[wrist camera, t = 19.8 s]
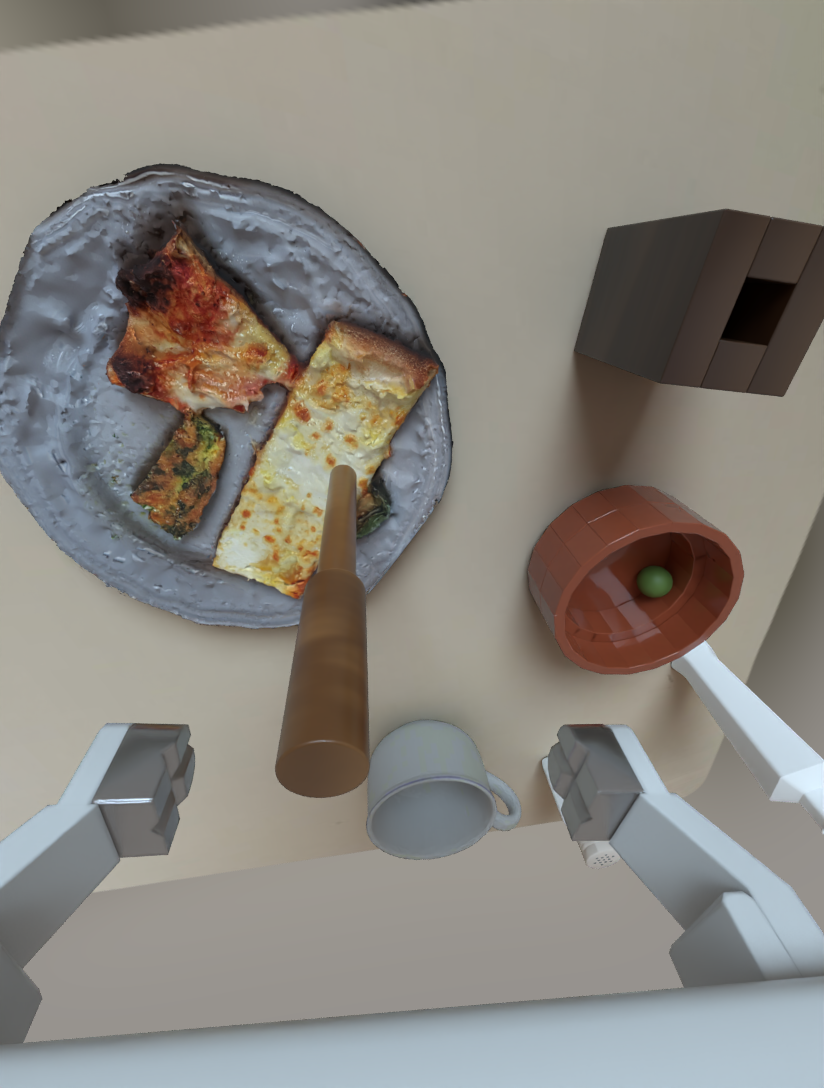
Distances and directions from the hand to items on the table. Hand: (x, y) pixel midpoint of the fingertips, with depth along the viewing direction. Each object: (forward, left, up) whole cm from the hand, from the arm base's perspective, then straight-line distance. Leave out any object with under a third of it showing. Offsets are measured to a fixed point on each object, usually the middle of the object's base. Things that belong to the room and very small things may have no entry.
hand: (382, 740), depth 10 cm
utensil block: (-15, -9, -21) cm, 27 cm away
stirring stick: (+1, +1, -18) cm, 18 cm away
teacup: (-9, +30, -22) cm, 38 cm away
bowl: (-19, +8, -21) cm, 29 cm away
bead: (-22, +9, -20) cm, 31 cm away
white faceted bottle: (-31, +18, -21) cm, 41 cm away
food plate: (+7, +1, -22) cm, 23 cm away
